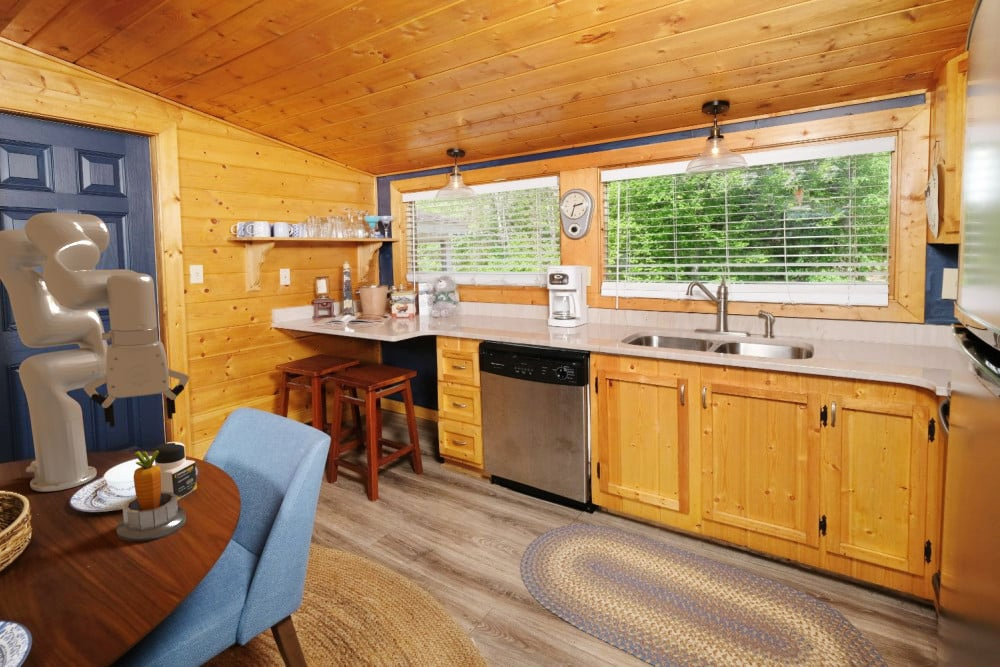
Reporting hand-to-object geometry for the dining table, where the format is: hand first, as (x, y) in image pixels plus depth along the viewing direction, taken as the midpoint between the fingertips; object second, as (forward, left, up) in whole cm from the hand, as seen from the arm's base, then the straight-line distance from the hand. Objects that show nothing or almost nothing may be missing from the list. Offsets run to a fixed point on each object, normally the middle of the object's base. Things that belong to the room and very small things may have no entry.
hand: (141, 421), depth 109 cm
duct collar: (0, 0, -23) cm, 23 cm away
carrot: (0, 0, -21) cm, 21 cm away
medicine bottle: (-6, +14, -23) cm, 27 cm away
